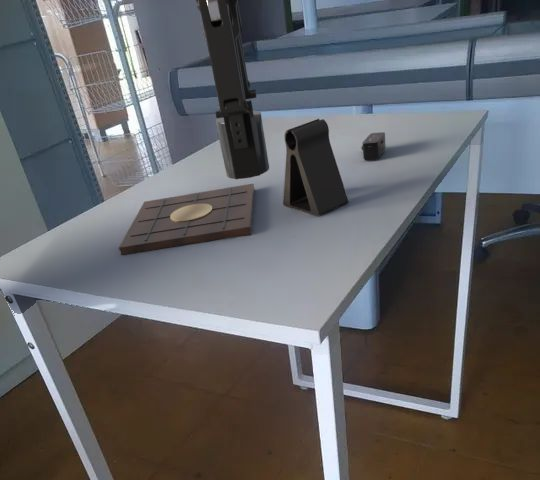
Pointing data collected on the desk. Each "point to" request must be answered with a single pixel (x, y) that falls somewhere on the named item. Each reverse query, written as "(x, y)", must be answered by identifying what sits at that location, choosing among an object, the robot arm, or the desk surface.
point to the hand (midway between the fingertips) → (248, 168)
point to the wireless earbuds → (373, 146)
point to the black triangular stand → (312, 170)
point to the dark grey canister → (258, 138)
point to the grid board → (191, 219)
